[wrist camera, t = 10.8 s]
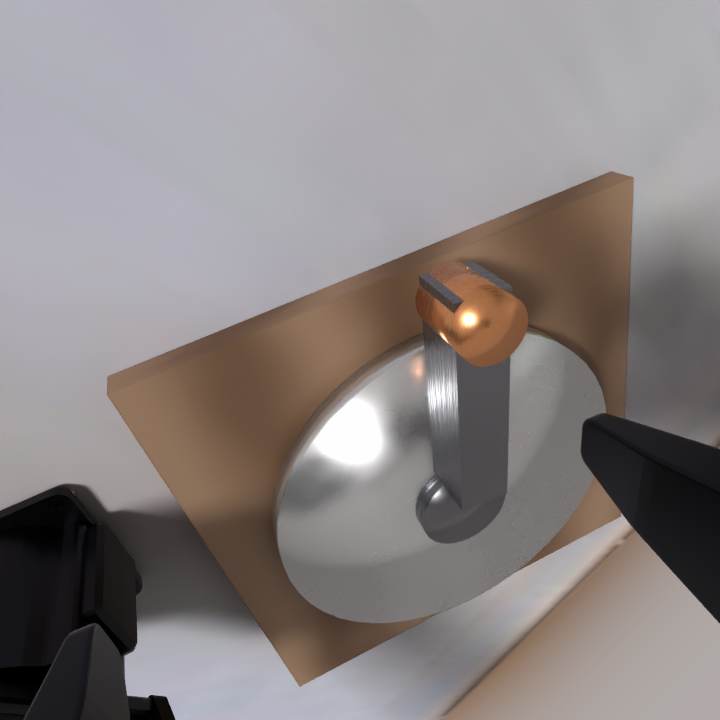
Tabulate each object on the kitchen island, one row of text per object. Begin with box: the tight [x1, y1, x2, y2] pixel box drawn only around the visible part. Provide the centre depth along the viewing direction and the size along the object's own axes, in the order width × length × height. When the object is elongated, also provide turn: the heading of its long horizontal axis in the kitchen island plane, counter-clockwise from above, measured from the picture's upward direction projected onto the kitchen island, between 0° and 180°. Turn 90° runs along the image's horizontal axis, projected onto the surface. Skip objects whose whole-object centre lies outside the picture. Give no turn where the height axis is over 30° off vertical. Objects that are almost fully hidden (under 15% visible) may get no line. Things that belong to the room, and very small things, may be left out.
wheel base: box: [107, 171, 634, 686], centre depth 27 cm, size 21×21×1 cm
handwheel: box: [272, 261, 606, 623], centre depth 23 cm, size 19×16×4 cm
